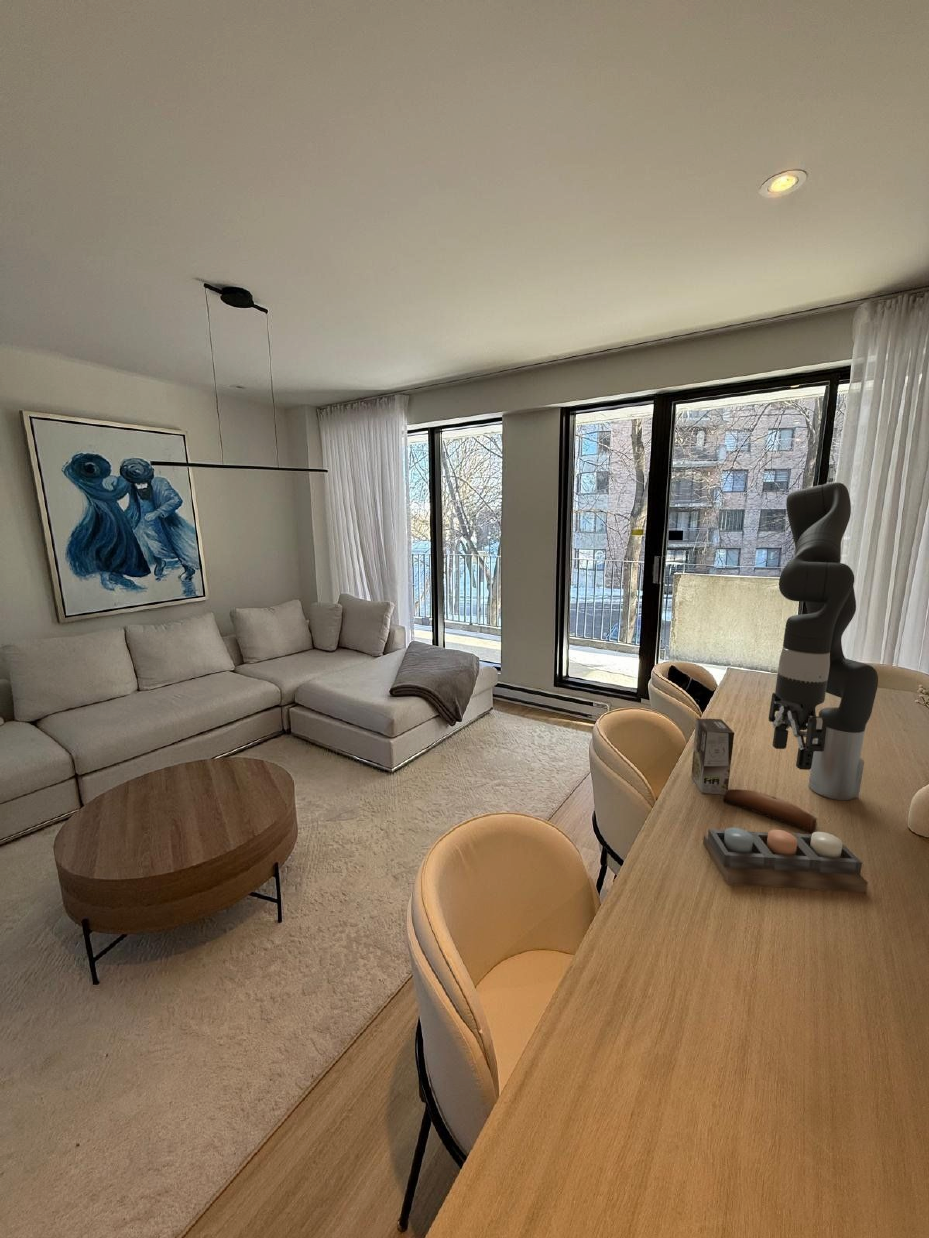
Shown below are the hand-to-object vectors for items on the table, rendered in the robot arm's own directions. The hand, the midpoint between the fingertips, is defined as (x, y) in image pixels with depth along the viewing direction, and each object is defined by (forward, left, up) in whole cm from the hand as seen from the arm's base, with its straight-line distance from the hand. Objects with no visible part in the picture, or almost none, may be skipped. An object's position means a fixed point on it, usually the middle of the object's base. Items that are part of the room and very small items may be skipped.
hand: (790, 757), depth 94 cm
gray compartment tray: (0, 0, -22) cm, 22 cm away
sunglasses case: (-8, -19, -23) cm, 31 cm away
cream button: (-8, 0, -19) cm, 21 cm away
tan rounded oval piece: (0, 0, -19) cm, 19 cm away
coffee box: (+1, -30, -23) cm, 38 cm away
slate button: (+8, 0, -19) cm, 21 cm away
